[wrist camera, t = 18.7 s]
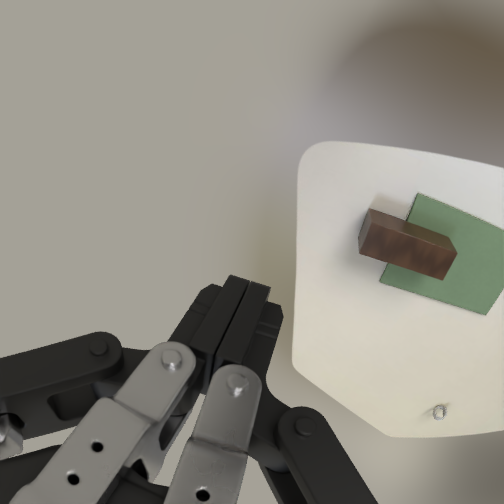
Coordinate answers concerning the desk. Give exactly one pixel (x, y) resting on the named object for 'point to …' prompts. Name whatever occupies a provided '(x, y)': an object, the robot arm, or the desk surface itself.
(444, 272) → the walnut block
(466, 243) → the mat
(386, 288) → the desk surface
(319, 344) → the desk surface
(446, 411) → the grey ring
